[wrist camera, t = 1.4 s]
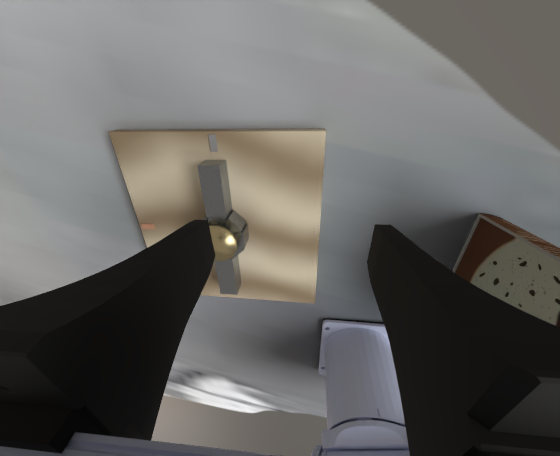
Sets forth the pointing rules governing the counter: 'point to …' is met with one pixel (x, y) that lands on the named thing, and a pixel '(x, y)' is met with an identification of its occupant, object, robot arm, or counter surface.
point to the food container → (512, 266)
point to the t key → (223, 219)
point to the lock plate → (235, 199)
